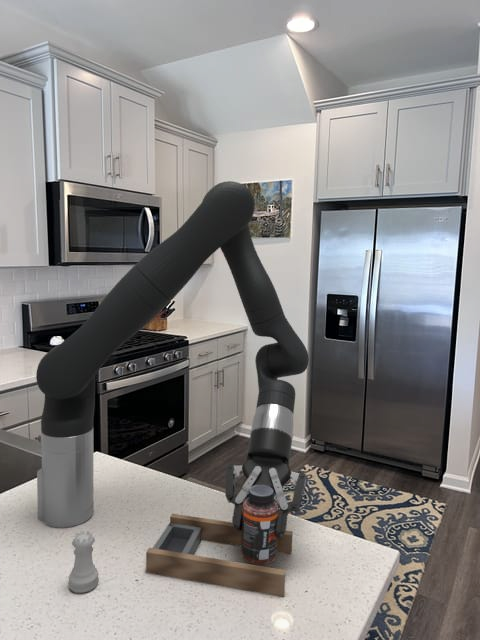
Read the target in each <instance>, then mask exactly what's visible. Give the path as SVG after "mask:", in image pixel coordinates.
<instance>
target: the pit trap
mask: <svg viewBox="0 0 480 640" xmlns="http://www.w3.org/2000/svg"><path fill="white" fill-rule="evenodd" d="M201 531H202V528H201V527H194V526H188V525H181V524H175V523H170V522H169V523H168V524H167V526H166V527H165V528H164V531H163V532H162V533H161V535H160V536H159V538H158V540H157V541H156V542H155V544H154V545H153V547H152V548H154V549H160V550H166V551H173V552H179V553H185V554H191V555H196V552H197V550H198V548H199V547H200V544H201V542H202V540H201Z"/></svg>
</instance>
